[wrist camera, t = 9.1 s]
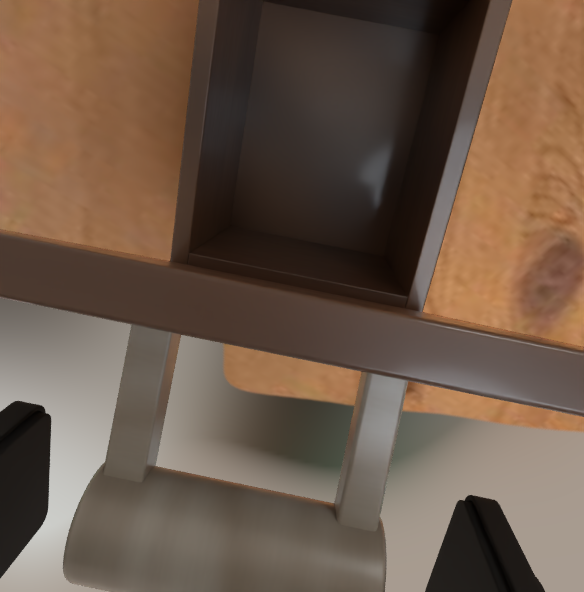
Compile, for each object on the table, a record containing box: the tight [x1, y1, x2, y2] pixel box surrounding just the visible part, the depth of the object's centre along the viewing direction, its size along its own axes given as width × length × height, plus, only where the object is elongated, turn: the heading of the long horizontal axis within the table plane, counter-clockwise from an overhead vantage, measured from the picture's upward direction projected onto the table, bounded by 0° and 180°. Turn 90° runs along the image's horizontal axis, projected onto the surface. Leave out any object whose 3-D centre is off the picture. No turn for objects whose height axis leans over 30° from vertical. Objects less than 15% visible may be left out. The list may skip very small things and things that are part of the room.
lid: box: [0, 229, 584, 592], centre depth 14 cm, size 17×13×6 cm
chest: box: [170, 0, 512, 312], centre depth 26 cm, size 16×13×11 cm
